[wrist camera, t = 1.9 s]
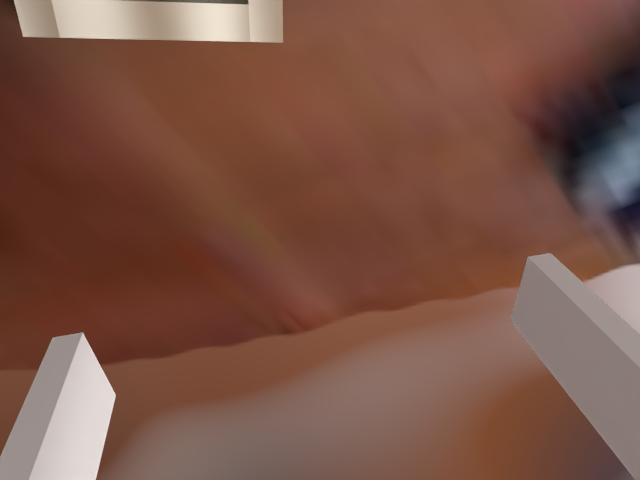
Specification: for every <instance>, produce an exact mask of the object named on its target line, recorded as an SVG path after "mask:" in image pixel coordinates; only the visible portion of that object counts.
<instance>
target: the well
mask: <svg viewBox="0 0 640 480" xmlns="http://www.w3.org/2000/svg"><path fill="white" fill-rule="evenodd" d="M14 3H15V7H16V10H17V14H18V18H19V22H20V26H21V30H22V34H23V37H57V38H102V39H147V40H192V41H237V42H282V43H283V4H282V0H14Z"/></svg>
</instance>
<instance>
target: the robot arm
mask: <svg viewBox="0 0 640 480" xmlns="http://www.w3.org/2000/svg"><path fill="white" fill-rule="evenodd" d="M510 321H511V322H512V324H513V325H514V326H515V327H516V328H517V330H518V331H519V332H520V334H521V335H522V336H523V337H524V339H525V340H526V341H527V343H528V344H529V345H530V346H531V348H532V349H533V350H534V351H535V353H536V354H537V355H538V357H539V358H540V359H541V360H542V362H543V363H544V364H545V365H546V367H547V368H548V369H549V370H550V372H551V373H552V374H553V376H554V377H555V378H556V379H557V381H558V382H559V383H560V385H561V386H562V387H563V388H564V390H565V391H566V392H567V393H568V395H569V396H570V397H571V399H572V400H573V401H574V402H575V404H576V405H577V406H578V407H579V409H580V410H581V411H582V413H583V414H584V415H585V416H586V417H587V419H588V420H589V421H590V423H591V424H592V425H593V426H594V428H595V429H596V430H597V432H598V433H599V434H600V435H601V437H602V438H603V439H604V440H605V442H606V443H607V444H608V445H609V447H610V448H611V449H612V451H613V452H614V453H615V454H616V456H617V457H618V458H619V459H620V461H621V462H622V463H623V465H624V466H625V467H626V468H627V470H628V471H629V472H630V474H631V475H632V476H633V477H634V479H635V480H640V334H639V333H638V332H637V331H636V330H634V329H633V328H632V327H631V326H630V325H629V324H628V323H627V322H626V321H625V320H623V319H622V318H621V317H620V316H619V315H618V314H617V313H616V312H615V311H613V310H612V309H611V308H610V307H609V306H608V305H607V304H606V303H605V302H604V301H603V300H601V299H600V298H599V297H598V296H597V295H596V294H595V293H593V291H592V290H590V289H589V288H588V287H587V286H586V285H585V284H584V283H583V282H582V281H581V280H579V279H578V278H577V277H576V276H575V275H574V274H573V273H572V272H571V271H570V270H568V269H567V268H566V267H565V266H564V265H563V264H562V263H561V262H560V261H559V260H558V259H556V258H555V257H554V256H553V255H552V254H551V253H548V254H542V255H537V256H531V257H528V259H527V262H526V266H525V269H524V273H523V277H522V280H521V284H520V287H519V291H518V295H517V298H516V302H515V306H514V309H513V312H512V316H511V320H510ZM115 396H116V395H115V393H114V391H113V389H112V387H111V385H110V383H109V381H108V380H107V378H106V376H105V374H104V372H103V370H102V368H101V366H100V364H99V362H98V361H97V359H96V357H95V355H94V353H93V351H92V349H91V347H90V345H89V344H88V342H87V340H86V338H85V336H84V334H83V333H77V334H71V335H65V336H59V337H53V338H52V340H51V343H50V345H49V347H48V349H47V352H46V354H45V356H44V359H43V361H42V363H41V365H40V368H39V370H38V373H37V375H36V377H35V379H34V382H33V384H32V386H31V388H30V390H29V393H28V395H27V397H26V400H25V402H24V404H23V406H22V409H21V411H20V413H19V415H18V418H17V420H16V423H15V425H14V427H13V429H12V432H11V434H10V436H9V438H8V441H7V443H6V445H5V447H4V450H3V452H2V454H1V456H0V480H96V476H97V471H98V468H99V463H100V459H101V455H102V451H103V447H104V443H105V438H106V434H107V429H108V425H109V421H110V417H111V413H112V409H113V405H114V401H115Z"/></svg>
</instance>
